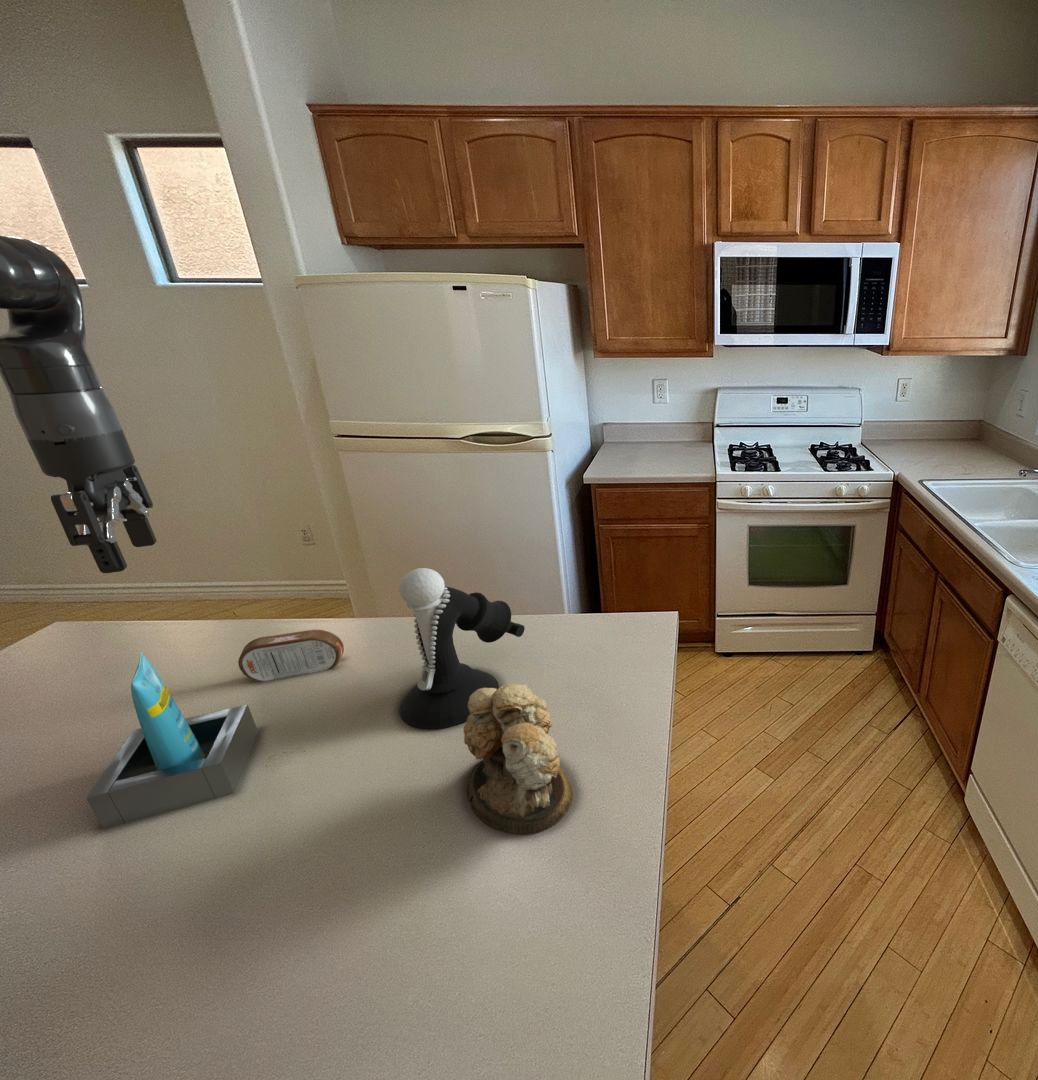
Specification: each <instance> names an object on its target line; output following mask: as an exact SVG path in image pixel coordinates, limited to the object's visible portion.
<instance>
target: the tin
mask: <svg viewBox="0 0 1038 1080" xmlns="http://www.w3.org/2000/svg"><path fill="white" fill-rule="evenodd" d="M344 651H345V646H344V643H343V641H342V639H341V638H340V637H339V636H338V635H336V634H335V633H334V632H331V631H328V630H325V629H308V630H302V631H295V632H288V633H280V634H274V635H266V636H261V637H257V638H255V639H252V640H250V641H249V642H248V643H247V644H246V645H244V647H243V648H242V651H241V653H240V655H239V657H238V661H237V664H238V668H239V670H240V671H241V673H242V674H243V675H244V676H245V677H246V678H248V679H249V680H252V681H255V682H259V683H263V682H268V681H271V680H272V681H273V680H278V679H283V678H289V677H295V676H299V675H300V676H301V675H305V674H311V673H316V672H321V671H329V670H333V669H334V668H336V667H337V665H338V664H339V663H340V661H341V658H342V657H343V655H344Z"/></svg>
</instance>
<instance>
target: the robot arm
mask: <svg viewBox="0 0 1038 1080" xmlns="http://www.w3.org/2000/svg"><path fill="white" fill-rule="evenodd" d="M0 310H6V311H7V319H8V330H7V332H4V333H3V334H0V378H1V380H2V383H3V384H4V387H5V389H6V392H7V393H8V396H9V397H10V400H11V404H12V408H13V412H14V415H15V417H16V420H17V421H18V424H19V426H20V428H21V430H22V432H23V434H24V436H25V438H26V440H27V443H28V444H29V447H30V449H31V450H32V452H33V456H34V457H35V459H36V461H37V464H38V465H39V467H40V470H41V472H42V473H43V474H44V475H45V476H47V477H52V478H59V479H63V480H64V481H66V486H67V490H68V492H66V493H65V492H64V493H57V494H51V496H50V501H51V504H52V506H53V508H54V510H55V513H56V515H57V517H58V520H59V522H60V524H61V526H62V529H63V531H64V533H65V536H66V538H67V540H68V543H69V545H70V546H71V547H79V546H87V547H88V549H89V551H90V553H91V555H92V557H93V560H94V562H95V564H96V567H97V568H98V570H99V572H100V573H102V574H111V573H119V572H124V570H126V569H127V567H128V564H127V562H126V560H125V557H124V555H123V553H122V550H121V548H120V546H119V544H118V542H117V540H115V526H116V525H118V524H119V523H120V519H121V520H122V524H123V527H124V529H125V531H126V533H127V535H128V537H129V540H130V543H131V544H132V546H133V547H135V548H143V547H151V546H153V545H155V544H156V543H157V542H158V541H157V537H156V535H155V532H154V530H153V528H152V526H151V523H150V521H149V519H148V517H150V511H149V509H152V508H153V507H154V503H153V501H152V499H151V496H150V494H149V492H148V489H147V487H146V484H145V482H144V480H143V478H142V476H141V474H140V471H139V469H138V467H137V466H136V465H135V463H136V459H135V457H134V454H133V452H132V450H131V447H130V444H129V442H128V440H127V437H126V435H125V433H124V430H123V428H122V425H121V422H120V420H119V418H118V415H117V412H116V411H115V407H114V405H113V404H112V403H111V401H110V399H109V397H108V396H107V394H106V392H105V390H104V389H103V387H102V384H101V382H100V379H99V376H98V374H97V372H96V369H95V367H94V365H93V362H92V359H91V358H90V355H89V353H88V350H87V331H86V322H85V321H86V320H85V311H84V301H83V296H82V292H81V288H80V286H79V282H78V281H77V279H76V276H75V275H74V273H73V271H72V270H71V268H69V266H68V264H66V262H65V261H64V260H63V259H62V258H61V257H60V256H59V255H58V254H57V253H55V252H54V250H52V249H51V248H49V247H47V246H46V245H43V244H41V243H39V242H37V241H34V240H31V239H28V238H22V237H15V236H8V235H0ZM77 526H78V527H79V530H78V529H77ZM101 526H102V527H101Z"/></svg>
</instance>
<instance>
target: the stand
mask: <svg viewBox="0 0 1038 1080" xmlns="http://www.w3.org/2000/svg"><path fill="white" fill-rule="evenodd" d="M184 718H185V720H186V722H187V724H188V725H189V727H190V729H191V731H192V733H193V734H194V736H195V738H196V740H197V742H198V744H199V745H200V747H201V749H202V751H203V753H204V754H205V753H208V752H209V753H208V754H207V756H206V759H202V760H198V761H194V762H190V763H186V764H182V765H178V766H174V767H170V768H166V769H162V770H157V768H156V765H155V763H154V760H153V758H152V755H151V753H150V750H149V747H148V745H147V742H146V740H145V737H144V734H143V731H142V729H141V728H138V729H133V730H131V733H130V734H129V735H128V737H127V738H126V739H125V741H124V743H123V744H122V745H121V747H120V748H119V750H118V751H117V752H116V754H115V756H114V757H113V759H111V761H110V762H109V764H108V765H107V767H106V768H105V769H104V772H103V773H102V774H101V775H100V777H99V778H98V780H97V781H96V783H95V784H94V786H93V787H92V788H91V790H90V791H89V792H88V794H87V795H86V797H85V800H86V801H87V803H88V805H89V807H90V808H91V810H92V812H93V813H94V815H95V816H96V819H97V820H98V822H99V823H100V826H101V827H102V829H103V830H106V829H110V828H112V827H113V828H114V827H117V826H120V825H125V824H127V823H131V822H135V821H138V820H142V819H145V818H149V817H150V818H151V817H153V816H156V815H160V814H163V813H168V812H171V811H175V810H178V809H182V808H185V807H190V806H193V805H196V804H200V803H204V802H207V801H211V800H215V799H218V798H222V797H226V796H228V795H233V794H235V791H236V789H237V787H238V784H239V782H240V779H241V776H242V774H243V772H244V770H245V767H246V764H247V762H248V759H249V757H250V755H251V752H252V749H253V747H254V744H255V741H256V739H257V737H258V734H259V729H258V727H257V725H256V721H255V720H254V716H253V714H252V712H251V709H250V707H249V704H243V705H240V706H235V707H229V708H225V709H222V710H217V711H212V712H208V713H204V714H199V715H194V716H190V717H184Z"/></svg>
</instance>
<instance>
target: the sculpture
mask: <svg viewBox="0 0 1038 1080" xmlns="http://www.w3.org/2000/svg"><path fill="white" fill-rule="evenodd" d="M398 593H399V595H400V597H401V598H402V599H403V601H405V603H406V607H407V608H408V609H410V610H412V611H413V617H414V619H413V622H414V623H415V624H414V629H415V630H414V633H415V634H416V635H415V639H416V640H417V641H416V644H417V645H419V646H418V647H417V650H419V655H420V656H421V660H422V661H423V663H422V664H423V665H422V669H421V674H420V676H419V679H418V681H417V682H416V683H417V684H416V685H415V686H413V687H412V688H411V689H410V690H409V692H407V694H406V695H405V696H404V697H403V699H402V701H401V703H400V707H399V714H400V717H401V719H402V721H403V722H404V723H405V724H406V725H408V726H410V727H412V728H415V729H419V730H430V731H431V730H443V729H448V728H453V727H456V726H460V725H462V724H464V723H465V724H466V723H467V719H468V716H469V715H471V714H470V711H469V709H468V701H469V698H470V696H471V695H472V693H474V692H475V691H476V690H478V689H481V688H495V689H498V688H499V687H500V686H499V682H498V679H496V677H494V676H493V675H492V674H490V673H489V672H487V671H484V670H480V669H479V668H478V669H477V668H472V667H470V665H468V664H466V663H462V662H460V660H459V657H458V654H457V650H456V647H455V644H454V643H455V642H454V636H453V635H454V630H455V626H457V628H458V629H459V630H461V631H465V632H475V633H476V635H477V637H478V639H479V640H480V641H481V642H483V643H488V644H489V643H494V642H496V641H498V640H500V639H501V638H502V637H504V635H505V634H509V635H513V636H515V637H516V638H517V637H518V638H520V637H522V636H523V635H524V633H525V630H526V628H525V625H524V624H521V623H517V622H514V621H512V610H511V607H510V606H509V604H508V603H507V602H505V601H503V600H494V601H490V600H488V598H487V597H486V596H485V595H484V594H483V593H481V592H471V593H467V592H465V591H463V590H460V589H457V588H454V587H451V586H446V585H445V580H444V578H443V576H442V575H441V574H440V573H439V572H437V571H436V570H434V569H432V568H427V567H419V568H414V569H412V570H410V571H409V572H407V573H406V574H405V575H403V576H402V578H401V579H400V582H399V585H398Z"/></svg>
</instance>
